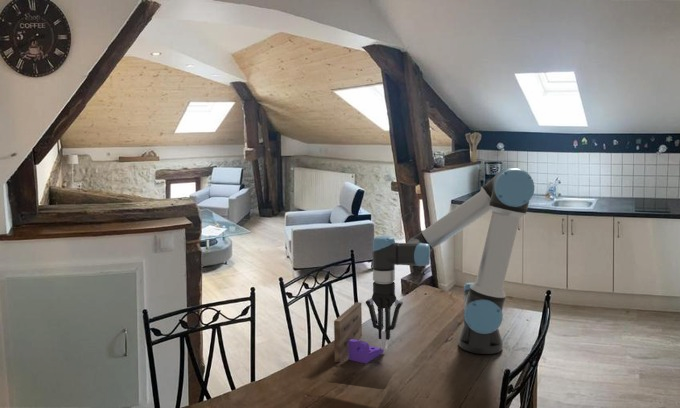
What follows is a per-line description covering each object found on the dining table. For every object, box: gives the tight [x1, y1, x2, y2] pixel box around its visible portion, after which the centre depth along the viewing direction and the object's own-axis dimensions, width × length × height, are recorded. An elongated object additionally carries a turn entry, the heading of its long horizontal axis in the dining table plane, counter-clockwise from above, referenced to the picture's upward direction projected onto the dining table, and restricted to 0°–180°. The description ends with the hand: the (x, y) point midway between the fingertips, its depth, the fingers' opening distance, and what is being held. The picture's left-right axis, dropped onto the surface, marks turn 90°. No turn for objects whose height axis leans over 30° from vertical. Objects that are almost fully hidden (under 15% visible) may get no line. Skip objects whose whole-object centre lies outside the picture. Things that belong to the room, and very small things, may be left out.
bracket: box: [348, 339, 385, 364], centre depth 171 cm, size 12×7×7 cm, turn 147°
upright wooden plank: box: [333, 301, 363, 363], centre depth 177 cm, size 2×24×14 cm, turn 160°
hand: (384, 348), depth 173 cm, fingers closed
